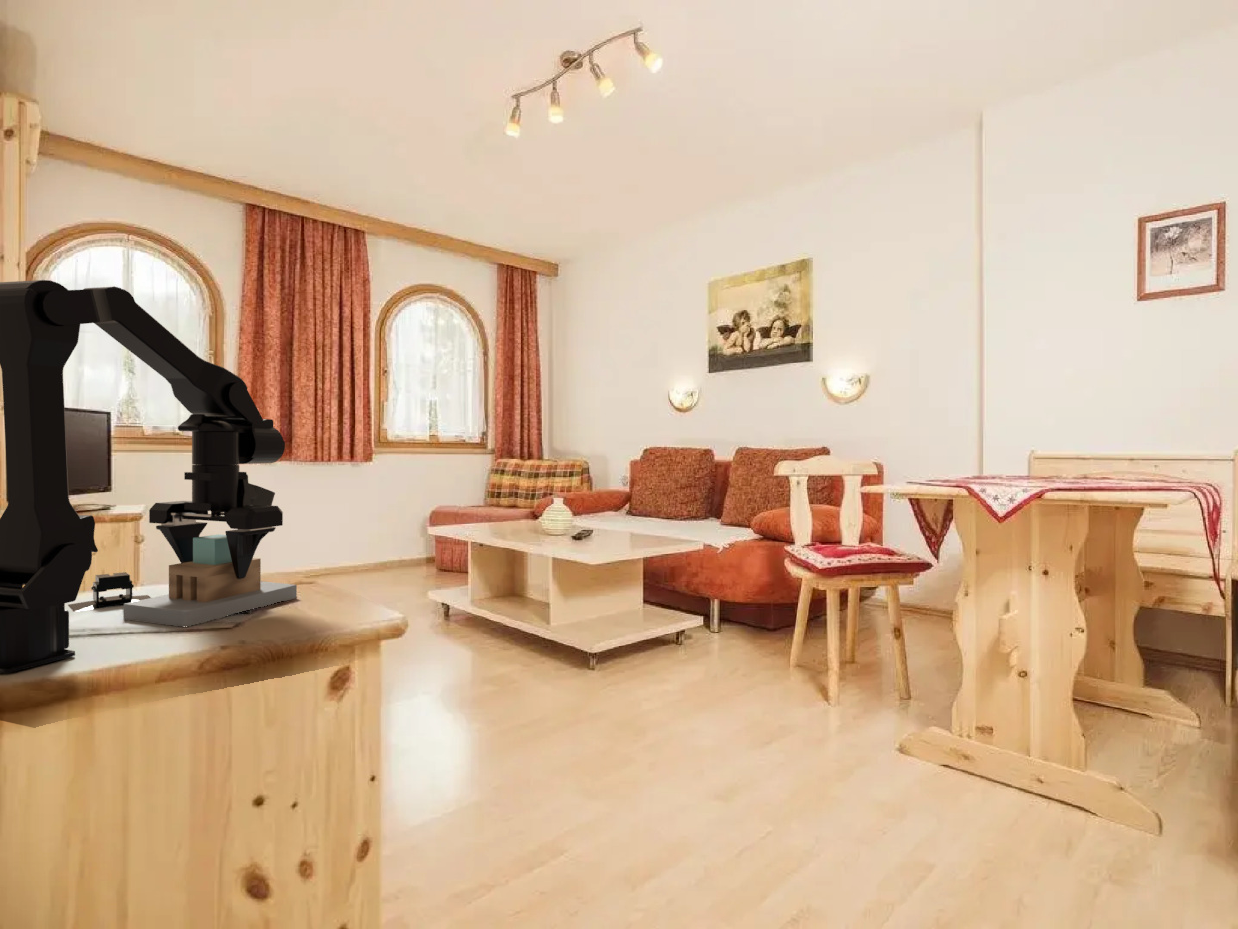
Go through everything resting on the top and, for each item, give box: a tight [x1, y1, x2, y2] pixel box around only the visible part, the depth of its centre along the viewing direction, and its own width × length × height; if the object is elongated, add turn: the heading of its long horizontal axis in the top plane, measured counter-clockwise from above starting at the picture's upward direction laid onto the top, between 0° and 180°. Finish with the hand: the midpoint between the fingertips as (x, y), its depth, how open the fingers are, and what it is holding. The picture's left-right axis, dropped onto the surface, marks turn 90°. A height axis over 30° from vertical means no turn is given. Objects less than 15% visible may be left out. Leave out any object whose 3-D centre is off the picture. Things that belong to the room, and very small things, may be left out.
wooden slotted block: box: [168, 557, 261, 602], centre depth 95 cm, size 9×6×4 cm
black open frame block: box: [67, 572, 152, 612], centre depth 98 cm, size 12×7×5 cm, turn 135°
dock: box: [122, 581, 298, 628], centre depth 96 cm, size 18×11×2 cm, turn 161°
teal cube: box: [193, 534, 232, 565], centre depth 95 cm, size 4×4×4 cm
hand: (215, 576), depth 95 cm, fingers open, 9 cm apart
